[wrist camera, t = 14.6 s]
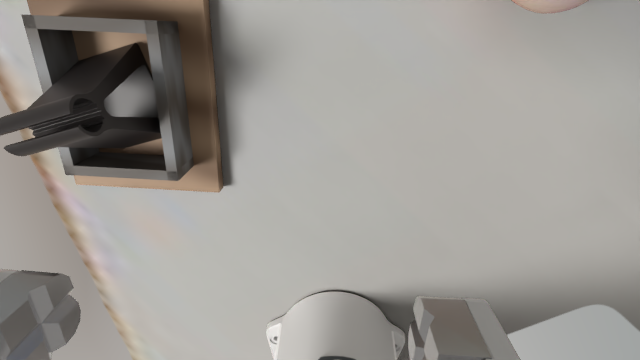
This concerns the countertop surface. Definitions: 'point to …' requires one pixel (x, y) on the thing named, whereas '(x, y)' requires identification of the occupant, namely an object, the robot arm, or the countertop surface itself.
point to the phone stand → (92, 106)
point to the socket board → (168, 77)
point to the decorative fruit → (549, 5)
